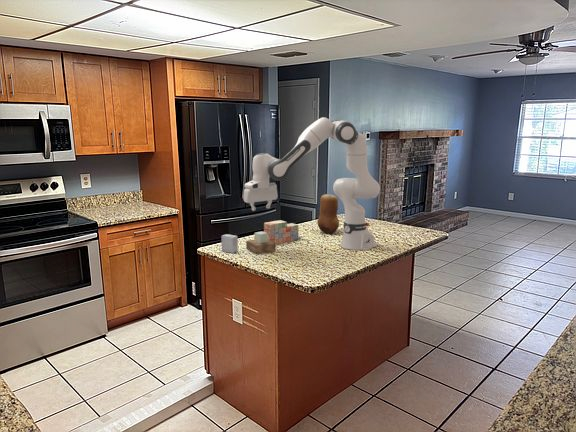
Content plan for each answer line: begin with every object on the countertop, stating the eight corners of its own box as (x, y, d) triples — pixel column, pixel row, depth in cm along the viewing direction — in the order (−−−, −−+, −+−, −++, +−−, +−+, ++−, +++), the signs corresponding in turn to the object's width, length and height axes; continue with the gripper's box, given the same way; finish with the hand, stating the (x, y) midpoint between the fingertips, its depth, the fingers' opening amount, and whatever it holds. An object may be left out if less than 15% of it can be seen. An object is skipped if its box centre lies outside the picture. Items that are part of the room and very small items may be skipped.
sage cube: (261, 240, 233) (261, 231, 232) (267, 242, 230) (267, 233, 229) (254, 241, 230) (254, 232, 229) (260, 243, 227) (260, 234, 226)
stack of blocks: (292, 237, 259) (292, 218, 256) (298, 239, 254) (298, 219, 252) (263, 243, 246) (263, 222, 243) (270, 245, 241) (270, 224, 238)
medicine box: (238, 251, 227) (238, 235, 226) (233, 253, 224) (232, 237, 222) (226, 249, 231) (226, 233, 230) (221, 251, 228) (221, 235, 226)
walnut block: (265, 246, 239) (265, 238, 238) (275, 252, 228) (275, 243, 227) (246, 249, 233) (246, 240, 232) (255, 254, 223) (255, 245, 222)
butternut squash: (339, 231, 277) (341, 193, 272) (337, 235, 264) (338, 196, 259) (319, 229, 280) (320, 192, 275) (315, 234, 267) (316, 195, 262)
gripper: (273, 181, 233) (272, 206, 235) (241, 184, 220) (242, 210, 223) (280, 183, 228) (279, 208, 231) (248, 185, 215) (248, 212, 218)
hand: (261, 209), depth 227 cm, fingers open, 8 cm apart
